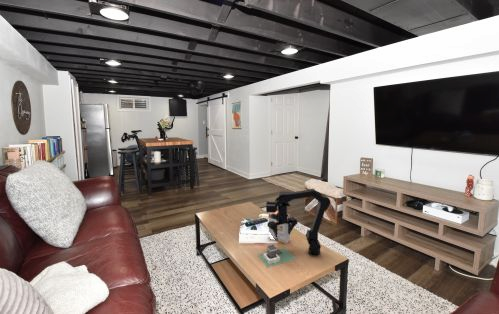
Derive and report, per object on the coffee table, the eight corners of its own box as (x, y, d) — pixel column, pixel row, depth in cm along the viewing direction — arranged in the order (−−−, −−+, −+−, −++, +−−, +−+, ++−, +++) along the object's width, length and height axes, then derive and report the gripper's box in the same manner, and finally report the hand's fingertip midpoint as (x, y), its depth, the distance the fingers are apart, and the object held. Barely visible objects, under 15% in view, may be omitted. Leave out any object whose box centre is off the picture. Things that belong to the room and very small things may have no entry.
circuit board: (284, 249, 157) (284, 244, 156) (296, 260, 144) (296, 255, 143) (257, 256, 149) (257, 251, 149) (267, 269, 137) (267, 263, 136)
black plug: (273, 256, 147) (273, 244, 145) (276, 260, 143) (276, 247, 142) (267, 258, 145) (267, 246, 144) (270, 261, 141) (270, 249, 140)
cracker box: (268, 239, 170) (268, 212, 166) (273, 236, 174) (273, 209, 171) (285, 246, 161) (285, 217, 158) (289, 242, 166) (290, 214, 162)
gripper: (288, 205, 158) (288, 227, 161) (263, 210, 151) (263, 233, 154) (298, 211, 148) (297, 234, 150) (271, 216, 141) (271, 241, 143)
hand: (282, 235), depth 150 cm, fingers open, 9 cm apart
